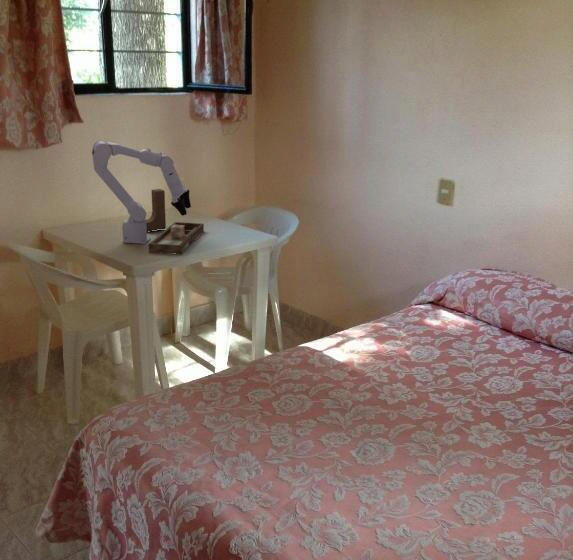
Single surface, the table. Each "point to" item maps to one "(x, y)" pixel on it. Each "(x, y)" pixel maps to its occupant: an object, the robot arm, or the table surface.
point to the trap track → (176, 239)
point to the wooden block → (157, 211)
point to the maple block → (177, 231)
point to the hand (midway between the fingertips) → (186, 211)
